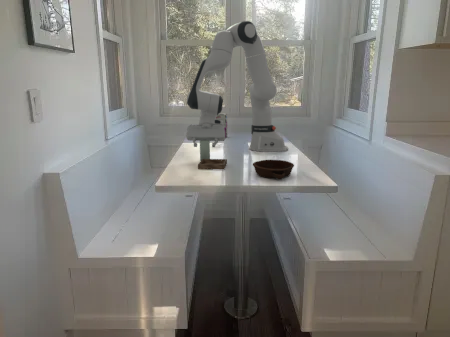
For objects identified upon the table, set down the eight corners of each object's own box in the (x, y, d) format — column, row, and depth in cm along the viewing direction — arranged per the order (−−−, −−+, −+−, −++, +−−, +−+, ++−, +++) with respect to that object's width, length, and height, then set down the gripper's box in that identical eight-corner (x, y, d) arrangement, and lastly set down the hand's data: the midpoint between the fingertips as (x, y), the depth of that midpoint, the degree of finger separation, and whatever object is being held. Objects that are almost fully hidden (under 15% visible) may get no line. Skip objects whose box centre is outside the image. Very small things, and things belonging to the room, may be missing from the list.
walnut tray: (226, 163, 174) (226, 159, 173) (223, 169, 162) (223, 164, 162) (202, 163, 175) (202, 158, 175) (198, 169, 163) (197, 164, 163)
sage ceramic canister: (210, 159, 184) (210, 140, 182) (209, 161, 179) (208, 141, 177) (201, 159, 185) (200, 140, 182) (199, 161, 180) (198, 141, 177)
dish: (257, 183, 141) (258, 170, 140) (248, 169, 163) (248, 158, 161) (300, 181, 143) (301, 169, 142) (285, 168, 164) (286, 157, 163)
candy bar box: (227, 136, 258) (227, 113, 254) (226, 137, 253) (226, 114, 249) (212, 136, 260) (212, 113, 256) (211, 137, 255) (210, 114, 251)
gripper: (186, 120, 186) (183, 142, 179) (225, 121, 184) (223, 143, 177) (189, 128, 192) (185, 149, 184) (226, 128, 189) (224, 150, 182)
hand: (204, 146), depth 181 cm, fingers open, 8 cm apart
